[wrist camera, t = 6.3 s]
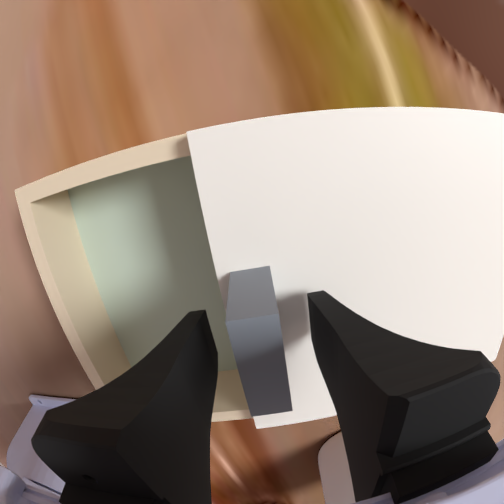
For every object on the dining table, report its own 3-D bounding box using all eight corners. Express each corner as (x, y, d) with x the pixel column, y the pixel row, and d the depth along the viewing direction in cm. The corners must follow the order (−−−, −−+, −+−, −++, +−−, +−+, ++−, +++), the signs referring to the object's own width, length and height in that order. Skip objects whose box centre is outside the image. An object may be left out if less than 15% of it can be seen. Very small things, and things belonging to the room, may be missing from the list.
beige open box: (132, 379, 19) (116, 421, 15) (58, 176, 14) (14, 190, 10) (354, 351, 18) (374, 394, 14) (339, 115, 13) (371, 109, 10)
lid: (256, 421, 14) (258, 479, 11) (189, 132, 10) (160, 127, 6) (491, 355, 14) (521, 390, 10) (518, 116, 9) (572, 121, 6)
